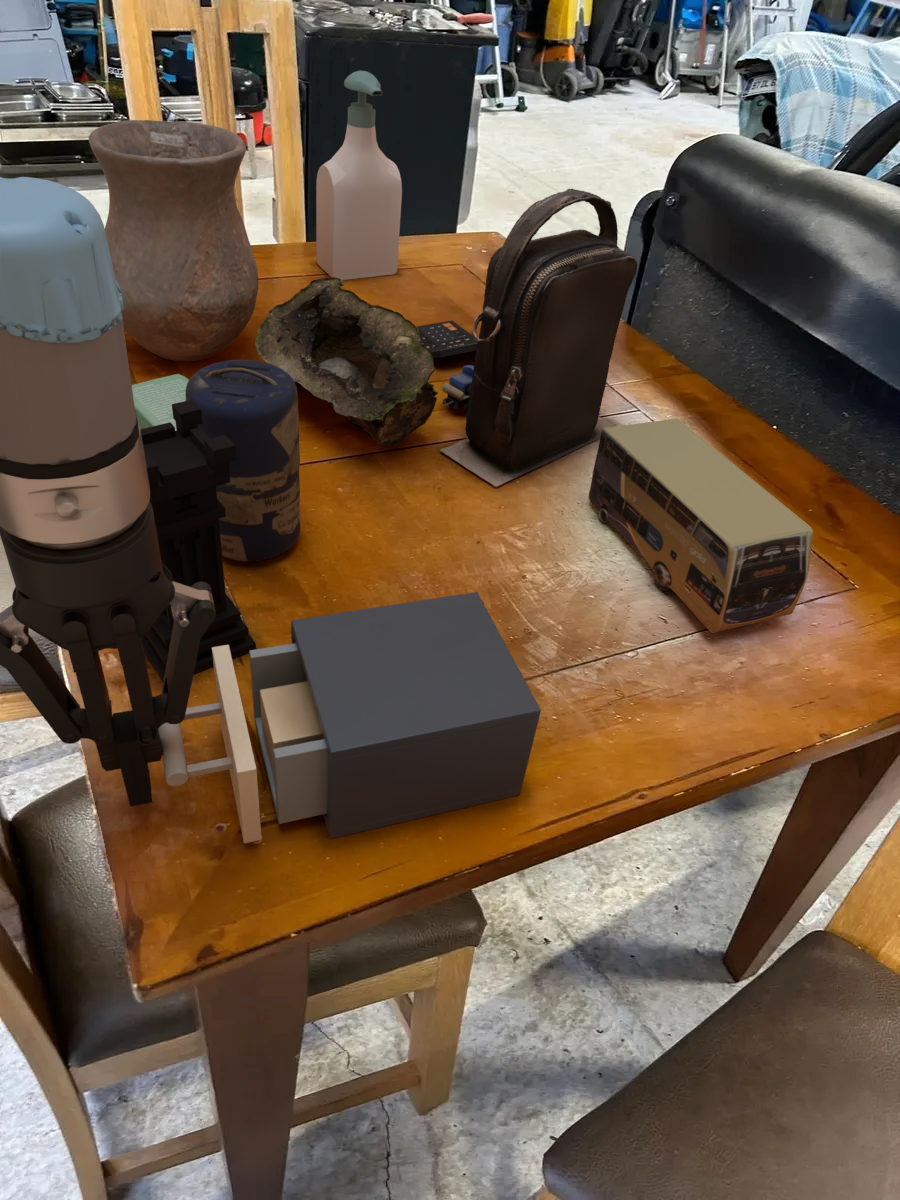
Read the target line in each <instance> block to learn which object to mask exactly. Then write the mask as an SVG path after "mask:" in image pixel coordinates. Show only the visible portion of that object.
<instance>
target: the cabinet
mask: <svg viewBox="0 0 900 1200" xmlns="http://www.w3.org/2000/svg"><path fill="white" fill-rule="evenodd" d="M290 625H291V626H290V633H291V634H290V637H291V641H290V642H291V644H293V643H296V645H297V649H298V652H299V655H300V659H301V662H302V665H303V669H304V672H305V675H306V679H307V682H308V685H309V689H310V692H311V695H312V699H313V702H314V705H315V709H316V712H317V715H318V719H319V722H320V725H321V729H322V732H323V735H324V739H325V742H326V745H327V749H328V803H327V813H326V814H322V817H323V821H324V824H325V828H326V831H327V835H328V838H329V840H332V839H336V838H340V837H345V836H349V835H353V834H357V833H363V832H366V831H370V830H375V829H379V828H383V827H387V826H391V825H396V824H401V823H405V822H409V821H414V820H417V819H422V818H426V817H427V818H428V817H430V816H435V815H439V814H443V813H448V812H452V811H456V810H461V809H465V808H469V807H473V806H478V805H483V804H487V803H490V802H496V801H499V800H504V799H509V798H512V797H516V796H517V797H518V796H520V795H521V793H522V788H523V784H524V780H525V777H526V772H527V768H528V765H529V760H530V756H531V753H532V748H533V744H534V740H535V737H536V732H537V729H538V724H539V720H540V716H541V712H542V710H541V707H540V706H539V704H538V702H537V700H536V698H535V696H534V695H533V692H532V690H531V688H530V687H529V685H528V683H527V681H526V680H525V678H524V676H523V674H522V671H521V670H520V668H519V667H518V665H517V663H516V661H515V660H514V659H515V658H514V657H513V656H512V654H511V652H510V650H509V648H508V646H507V644H506V643H505V641H504V638H503V637H502V635H501V633H500V631H499V629H498V628H497V626H496V624H495V622H494V620H493V619H492V616H491V615H490V613H489V611H488V609H487V608H486V605H485V603H484V601H483V600H482V598H481V596H480V594H479V592H477V591H474V592H468V593H467V592H466V593H461V594H454V595H448V596H440V597H435V598H428V599H421V600H416V601H408V602H402V603H396V604H395V603H394V604H389V605H381V606H375V607H370V608H368V607H367V608H363V609H357V610H350V611H349V610H348V611H344V612H336V613H331V614H324V615H317V616H309V617H304V618H296V619H292V620H290Z"/></svg>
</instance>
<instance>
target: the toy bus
mask: <svg viewBox="0 0 900 1200" xmlns="http://www.w3.org/2000/svg"><path fill="white" fill-rule="evenodd" d="M615 426H616V427H608V428H603V429H602V432H601V437H600V438H599V442H598V446H597V452H596V457H595V460H594V466H593V471H592V474H591V475H592V477H591V481H590V487H589V488H590V489H589V492H588V499H589V501H590V503H591V505H592V506H593V507H594V509H596V511H597V512H598V519H599V520H600V522H602V523H603V524H606V523H609V524H610V525H611V526H612V527H613V528H614V529H615V530H616V532H618V533H619V534H620V535H621V536H622V537H623V538H624V539H625V541H627V543H628V544H629V545H630V546H631V547H632V548H633V549H634V550H635V552H637V553H638V555H639V556H640V557H641V558H642V559H643V560H644V561H645V563H646V564H647V565H648V566H649V567H650V569H651V570H652V571H653V573H652V574H653V581H654V583H655V585H656V586H657V587H658V588H659V589H661V590H662V591H664V592H666V591H667V590H669V589H671V591H672V592H673V593H675V595H676V596H677V597H678V598H679V599H680V600H681V601H682V602H683V603H684V604H685V606H686V607H687V608H688V609H689V610H690V612H692V614H693V615H694V616H695V617H696V618H697V619H698V620H699V621H700V622H701V623H702V624H703V626H704V627H705V628H706V629H707V630H708V631H709V632H711V633H712V634H714V633H718V632H723V631H728V630H731V629H735V628H739V627H742V626H747V625H752V624H756V623H760V622H764V621H768V620H773V619H776V618H781V617H785V616H789V615H792V614H793V613H794V611H795V609H796V606H797V604H798V602H799V599H800V597H801V594H802V592H803V590H804V587H805V585H806V583H807V579H808V576H809V569H810V561H811V556H812V555H811V554H812V548H813V547H812V546H813V539H814V530H813V528H812V526H811V525H809V524H808V523H807V522H805V521H804V520H803V519H802V518H801V517H800V516H798V515H797V514H796V513H794V512H793V511H792V510H791V509H790V508H788V507H787V506H786V505H784V504H783V503H782V502H781V501H780V500H778V498H776V497H775V496H774V495H773V494H771V493H770V492H769V491H768V490H766V489H765V488H764V487H763V486H762V485H760V484H759V483H758V482H756V481H755V480H754V479H753V478H752V477H751V476H749V475H748V474H747V473H745V471H743V470H742V469H741V468H739V467H738V466H737V465H736V464H734V463H733V462H732V461H731V460H730V459H728V458H727V457H726V456H725V455H724V454H722V452H720V451H718V450H717V448H715V447H714V446H712V445H711V444H710V443H709V442H707V441H706V440H705V439H704V438H703V437H702V436H700V435H699V434H698V433H696V432H695V431H694V430H693V429H691V428H690V427H689V426H688V425H687V424H686V423H684V422H683V421H682V420H681V419H679V418H670V419H661V420H654V421H653V420H652V421H647V422H646V421H645V422H639V423H632V424H624V425H615Z"/></svg>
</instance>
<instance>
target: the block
mask: <svg viewBox="0 0 900 1200" xmlns="http://www.w3.org/2000/svg"><path fill="white" fill-rule="evenodd" d="M260 701H261V717H262V733H263V739H264V743H265V747H266V751H267V755H268V759H269V763H270V767H271V771H272V776H273V780H274V784H275V774H274V754H273V750H274V749H276V748H281V747H286V746H291V745H296V744H301V743H306V742H311V741H317V740H322V739H324V735H323V732H322V729H321V725H320V722H319V719H318V715H317V712H316V709H315V705H314V702H313V699H312V695H311V692H310V689H309V685H308V682H301V683H296V684H290V685H285V686H279V687H273V688H268V689H262V690H260Z"/></svg>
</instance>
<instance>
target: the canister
mask: <svg viewBox="0 0 900 1200" xmlns="http://www.w3.org/2000/svg"><path fill="white" fill-rule="evenodd" d="M188 380H189V381H188V383H187V386H186V391H185V396H186V401H188V400H193V401H194V402H195V403H196V404H197V405H198V406H199V407H200V408H201V411H202V422H203V424H199V425H198V428H199V427H200V428H201V429H202V430H203V431H204V432H205V433H206V434H207V436H208V437H209V438H214V437H218V436H222V435H226V436H227V437H228V438H229V439H230V440H231V441H232V442H233V443H234V445H235V448H236V460H235V461H231V462H229V470H230V482H229V483H226V484H222V485H219V486H216V493H217V499H218V500H219V501H220V503H221V504H222V505H223V506H224V507H225V513H226V517H223V518H220V519H219V526H220V537H221V548H222V557H224V558H226V559H227V560H234V561H239V562H258V561H259V562H260V561H265V560H269V559H272V558H275V557H278V556H279V555H281V554H283V553H285V552H287V551H288V550H289V549H290V548H292V546H294V544H295V543H296V542H297V540H298V538H299V536H300V532H301V527H302V526H301V525H302V521H301V519H302V517H301V484H300V483H301V482H300V467H301V466H300V465H301V453H300V452H301V451H300V425H299V424H300V421H299V418H300V417H299V395H298V394H299V393H298V388H297V385H296V383H295V382H294V380H293V379H292V377H291V376H290V375H289V374H288V373H287V372H285V371H284V370H283V369H281V368H279V367H277V366H275V365H272V364H270V363H267V362H266V361H262V360H261V361H260V360H253V359H231V360H225V361H218V362H215V363H211V364H209V365H206V366H204V367H202V368H201V369H199V370H197V371H196V372H194V373H193V375H192V376H190V378H189V379H188Z"/></svg>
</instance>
